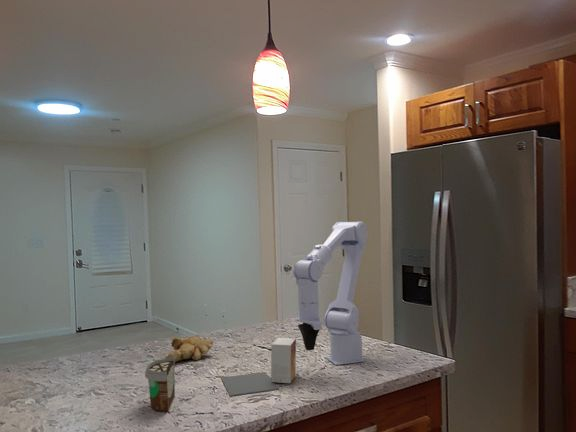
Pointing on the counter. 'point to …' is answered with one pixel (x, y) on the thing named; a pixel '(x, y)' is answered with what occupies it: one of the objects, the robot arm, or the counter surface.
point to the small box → (283, 360)
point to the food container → (161, 384)
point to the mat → (248, 384)
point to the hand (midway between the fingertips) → (309, 349)
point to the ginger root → (189, 348)
